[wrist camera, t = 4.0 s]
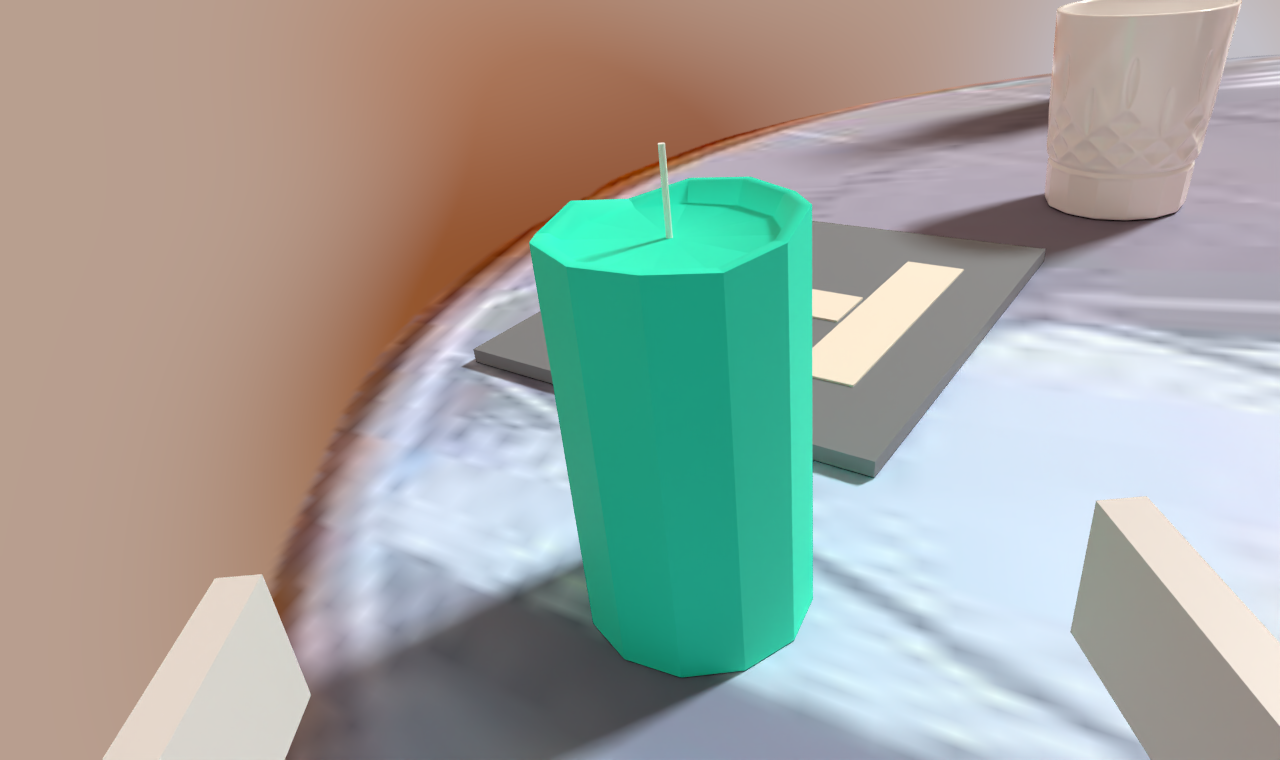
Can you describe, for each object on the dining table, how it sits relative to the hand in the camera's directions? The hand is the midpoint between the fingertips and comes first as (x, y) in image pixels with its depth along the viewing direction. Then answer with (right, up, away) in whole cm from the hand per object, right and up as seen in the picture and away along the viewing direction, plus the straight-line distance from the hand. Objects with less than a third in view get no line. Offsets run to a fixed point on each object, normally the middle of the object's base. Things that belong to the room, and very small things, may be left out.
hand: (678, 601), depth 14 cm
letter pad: (+5, +7, +25) cm, 26 cm away
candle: (+1, -2, +9) cm, 10 cm away
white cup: (+25, +13, +33) cm, 43 cm away
